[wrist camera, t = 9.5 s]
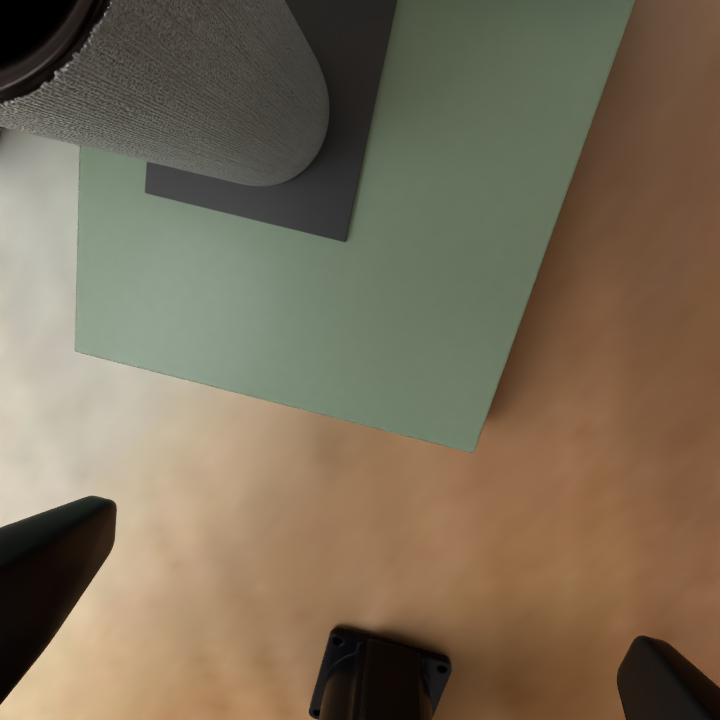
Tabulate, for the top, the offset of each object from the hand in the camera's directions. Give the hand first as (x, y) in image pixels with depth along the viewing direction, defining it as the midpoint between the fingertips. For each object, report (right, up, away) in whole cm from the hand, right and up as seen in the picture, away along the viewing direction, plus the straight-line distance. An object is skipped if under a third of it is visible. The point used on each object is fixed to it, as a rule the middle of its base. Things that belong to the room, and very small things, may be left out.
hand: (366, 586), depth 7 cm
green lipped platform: (-1, +10, +9) cm, 14 cm away
